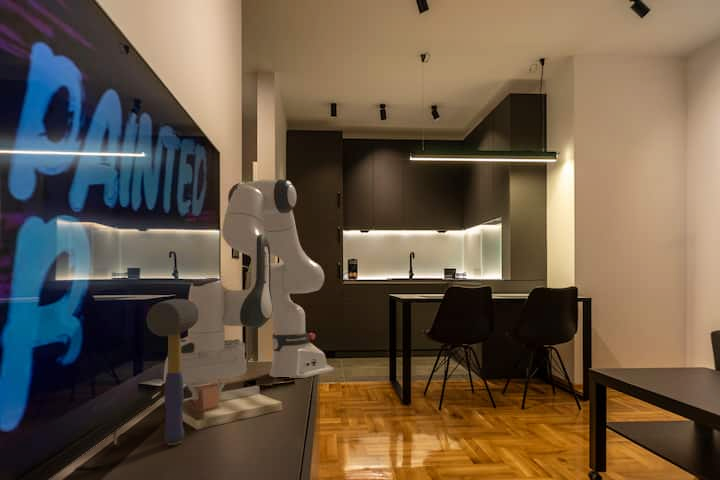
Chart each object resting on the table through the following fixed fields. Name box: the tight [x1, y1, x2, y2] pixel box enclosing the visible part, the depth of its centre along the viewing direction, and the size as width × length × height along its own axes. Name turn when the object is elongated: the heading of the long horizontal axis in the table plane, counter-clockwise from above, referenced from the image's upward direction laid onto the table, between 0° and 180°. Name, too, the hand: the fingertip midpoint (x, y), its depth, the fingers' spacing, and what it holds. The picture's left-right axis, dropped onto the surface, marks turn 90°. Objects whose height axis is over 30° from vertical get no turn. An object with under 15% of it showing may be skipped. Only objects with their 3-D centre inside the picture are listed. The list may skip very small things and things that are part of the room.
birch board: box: [182, 393, 283, 430], centre depth 122 cm, size 22×14×4 cm, turn 129°
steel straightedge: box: [183, 385, 260, 406], centre depth 127 cm, size 22×2×2 cm, turn 129°
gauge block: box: [195, 382, 219, 410], centre depth 121 cm, size 4×5×5 cm
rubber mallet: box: [146, 298, 199, 446], centre depth 102 cm, size 12×8×30 cm, turn 0°
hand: (207, 398), depth 121 cm, fingers closed on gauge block, 4 cm apart
